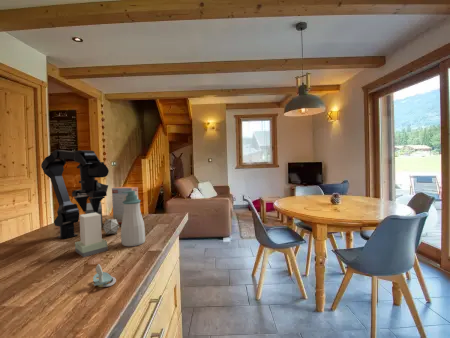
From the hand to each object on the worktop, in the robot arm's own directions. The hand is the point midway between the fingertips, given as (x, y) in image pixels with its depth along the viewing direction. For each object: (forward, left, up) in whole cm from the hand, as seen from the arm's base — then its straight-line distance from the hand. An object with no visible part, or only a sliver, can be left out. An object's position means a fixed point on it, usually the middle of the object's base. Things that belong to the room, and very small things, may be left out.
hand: (90, 212), depth 113 cm
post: (+13, -8, -9) cm, 18 cm away
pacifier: (+43, -22, -14) cm, 50 cm away
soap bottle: (+21, +6, -13) cm, 26 cm away
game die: (0, +10, -13) cm, 17 cm away
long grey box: (-27, +18, -13) cm, 35 cm away
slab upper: (+13, -8, -12) cm, 19 cm away
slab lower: (+13, -8, -14) cm, 20 cm away
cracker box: (-12, +28, -13) cm, 33 cm away
